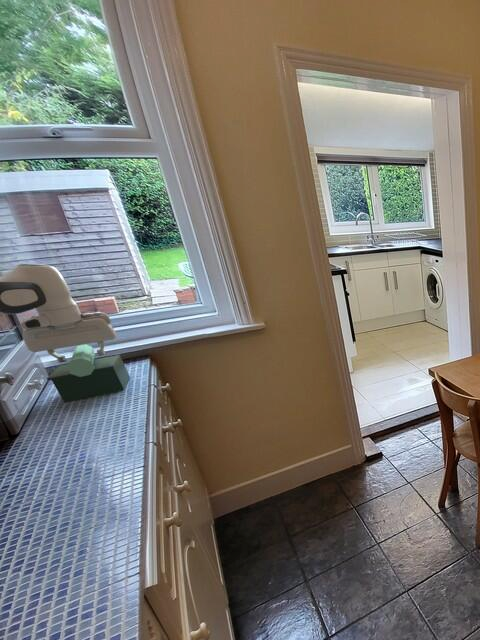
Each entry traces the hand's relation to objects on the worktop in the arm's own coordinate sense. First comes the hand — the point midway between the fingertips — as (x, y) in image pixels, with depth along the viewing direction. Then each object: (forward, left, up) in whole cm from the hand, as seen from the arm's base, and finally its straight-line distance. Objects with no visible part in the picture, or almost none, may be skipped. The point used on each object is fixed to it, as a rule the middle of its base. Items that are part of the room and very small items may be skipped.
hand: (83, 358), depth 133 cm
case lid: (0, 0, -3) cm, 3 cm away
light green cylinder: (0, 0, -3) cm, 3 cm away
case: (0, 0, -11) cm, 11 cm away
